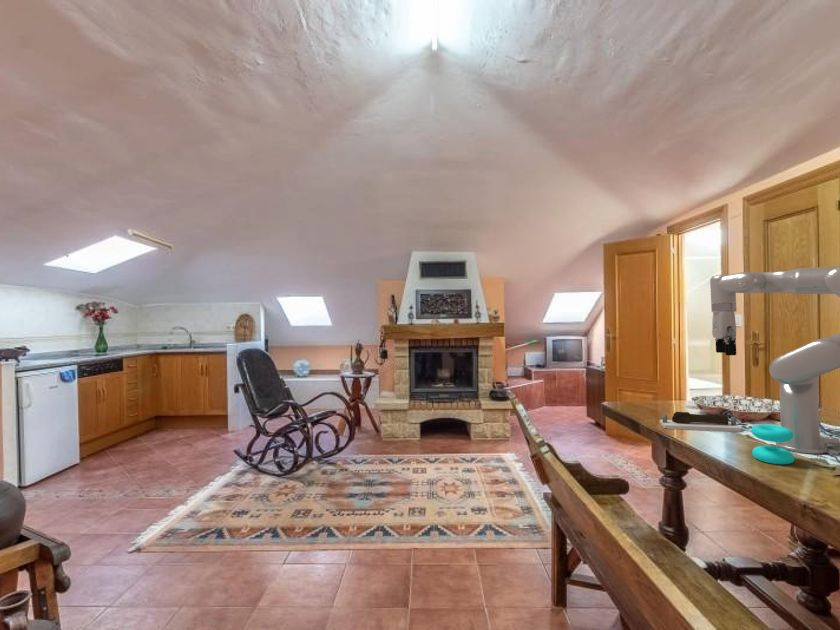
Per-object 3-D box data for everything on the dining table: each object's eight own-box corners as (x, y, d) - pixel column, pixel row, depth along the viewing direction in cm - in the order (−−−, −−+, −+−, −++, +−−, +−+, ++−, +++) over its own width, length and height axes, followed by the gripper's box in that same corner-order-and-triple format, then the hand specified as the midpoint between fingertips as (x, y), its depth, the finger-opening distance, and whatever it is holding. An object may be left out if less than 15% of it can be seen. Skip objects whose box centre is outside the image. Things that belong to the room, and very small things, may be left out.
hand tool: (725, 423, 163) (724, 411, 163) (729, 425, 159) (728, 413, 160) (670, 421, 170) (670, 410, 170) (673, 423, 166) (672, 412, 166)
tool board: (732, 425, 164) (732, 414, 164) (741, 432, 156) (741, 420, 156) (659, 423, 173) (659, 412, 173) (664, 428, 164) (664, 417, 164)
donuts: (801, 433, 122) (761, 432, 124) (802, 466, 122) (763, 465, 124) (781, 423, 131) (744, 423, 134) (782, 455, 131) (746, 453, 134)
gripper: (704, 308, 163) (706, 351, 163) (720, 308, 146) (722, 356, 146) (727, 307, 160) (729, 351, 160) (745, 307, 144) (747, 356, 144)
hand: (725, 353), depth 153 cm, fingers open, 9 cm apart
